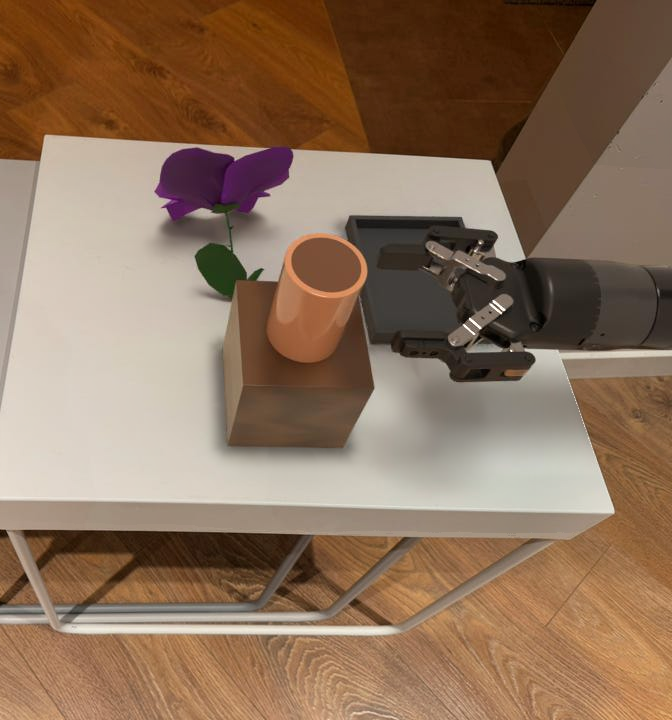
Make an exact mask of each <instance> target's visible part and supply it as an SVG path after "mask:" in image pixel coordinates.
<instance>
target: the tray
mask: <svg viewBox="0 0 672 720" xmlns="http://www.w3.org/2000/svg"><path fill="white" fill-rule="evenodd" d="M433 225H436V226H448V227H459V228H466V225H465V222H464V219H463V217H462V216H435V215H434V216H433V215H432V216H430V215H429V216H427V215H425V216H424V215H367V214H366V215H365V214H364V215H357V214H349V215H348V219H347V221H346V224H345V226H344V227H345V232H346V237H347V241H348V242H350V243H351V244H352V245H354V246H355V247H356V248H357V249H358V250H359V251H360V252H361V254H362V255H363V257H364V259H365V261H366V265H367V278H366V281H365V283H364V285H363V288H362V290H361V293H360V295H359V298H360V303H361V307H362V310H363V315H364V316H363V317H364V320H365V324H366V329H367V334H368V339H369V343H370V345H373V344H374V345H384V344H385V345H391V341H392V339H393V337H394V335H395V333H396V332H397V331H399V330H422V331H444V334H445V336H449V335H450V334H451V333H452V332H454V331H455V330H457V329H458V328H459V327H461V326H462V324H461V323H458V321H457V317H456V312H457V308H456V306H455V304H454V303H453V301H452V297H451V291H450V290H448V289H446V288H444V287H443V286H441V285H440V284H439V283H438V280H437V278H435V277H434V276H432V275H430V274H428V273H426V272H425V271H423V270H421V269H418V271H408V270H383V269H378V268H377V267H376V261H375V259H376V257H377V255H378V252H379V250H380V249H381V248H382V247H384V246H386V245H387V244H391V243H396V244H422V243H423V241H424V239H425V236H426V234H427V232H428V230H429V228H430V227H431V226H433ZM440 242H449V241H447V240H440ZM434 261H436V262H437V263H439V264H441V265H443V266H445V267H446V265H445V263H443V262H441V261H439V260H438V259H436V258H435V259H434ZM465 271H466V270H464V269H462V268H456V270H455V272H454V275H455V276H456V277H457V278H459V276H460V275H461V274H462V273H464V272H465ZM479 344H480V345H481V344H482V345H483V344H487V345H488V344H490V345H491V344H492V343H491V342H489V341H487V340H485V339H483V340H481V341H480V342H479V343H477V344H476V345H479Z"/></svg>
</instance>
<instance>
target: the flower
mask: <svg viewBox="0 0 672 720" xmlns="http://www.w3.org/2000/svg"><path fill="white" fill-rule="evenodd" d="M293 161H294V151H293V150H292V148H291V147H287V146H285V145H284V146H283V145H282V146H274V147H273V146H272V147H270V148H265V149H262V150H259V151H256V152H253V153H249V154H246V155H244V156H242V157H240V158H238V159H236V160H235V157H234V156H232V155H231V154H228V153H222V152H215V151H214V152H213V151H211V150H207V149H204V148H200V147H198V146H197V147H188V148H181V149H179V150H177V151H174V152H172V153H171V154H170V155H169V156H168V157H166V158H165V161H164V162H163V163H162V165H161V170H160V173H159V182H158V183H157V185H156V187H155V189H154V191H153V193H154V194H156V196H157V197H158V198H159V199H164V200H169V201H168V202H166V203H165V204H164V205H163V206H161V207H160V209H166V211H167V213H168V216H169V217H170V219H171V220H172V222H173V223H175V222H176V221H178V220H181V219H182V218H183V217H185V216H186V215H188V214H190V213H193V212H195V211H197V210H199V209H205V210H209V211H210V213H212V214H216V215H221V214H224V216H225V219H226V226H227V229H228V236H229V237H228V238H229V244H226V245H225V244H221V243H214V242H208V243H207V244H206V245H204V246H203V247H201V248H199V249H198V250H197V252H196V253H195V254H194V259H195V264H196V268H197V269H198V271H199V273H200V274H201V276H202V277H203V279H204V280H205V282H206V283H207V285H208V286H209V287H211V288H212V289H213V290H215V291H216V292H217V293H219V294H220V295H221V296H226V297H233V294H234V289H235V284H236V280H247V281H258V279H259V277H260V276H261V274H262V273H263V272H264V271H265V268H263V267H260V268H258V269H256V270H254V271H253V272H252V273H251V274H250V275H249V276H248V274H247V271H246V269H245V268H244V266H243V264H242V262H241V261H240V260H239V258H238V256H237V255H236V254H235V252H234V247H233V246H234V245H233V236H232V229H233V228H235V225H231V224H230V219H229V215H228V213H232V212H233V211H235V212H237V213H242V214H249V213H250V212H251V211H253V209H254V208H255V206H256V204H257V202H258V200H259V199H260V198H267V197H271V193H269V192H266V191H269V190H271V189H274V188H276V187H278V186H282V185H283V184H285V182H286V181H287V180H289V179H290V169H291V166H292V164H293Z"/></svg>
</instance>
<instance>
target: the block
mask: <svg viewBox="0 0 672 720" xmlns="http://www.w3.org/2000/svg"><path fill="white" fill-rule="evenodd" d="M277 283H278V280H276V281H275V280H274V281H273V280H256V281H247V280H236V284H235V289H234V294H233V296H232V299H231V304H230V310H229V314H228V320H227V324H226V329H225V334H224V340H223V343H222V344H223V345H222V362H223V363H222V364H223V382H224V384H223V385H224V401H225V402H224V403H225V423H226V424H225V425H226V426H225V427H226V445H227V447H229V446H230V447H273V448H274V447H278V448H279V447H281V448H285V447H286V448H333V449H334V448H341V449H343V448H344V446H345V444H346V442H347V440H348V439H349V437H350V436H351V433H352V431H353V430H354V428H355V427H356V424H357V423H358V420H359V418H360V417H361V415H362V413H363V411H364V409H365V408H366V405H367V403H368V402H369V400H370V398H371V397H372V394H373V393H374V391H375V389H376V388H375V383H374V381H375V380H374V376H373V370H372V364H371V360H370V359H371V358H370V354H369V353H370V351H369V348H368V341H367V336H366V330H365V324H364V319H363V312H362V305H361V299H360V296H359V297H358V300H357V302H356V304H355V307H354V309H353V311H352V314H351V316H350V319H349V321H348V323H347V326H346V328H345V330H344V333H343V335H342V337H341V340H340V342H339V345H338V347H337V349H336V350H335V352H334V353H333V354H332V355H330V356H329V357H328V358H326V359H324V360H321V361H318V362H313V363H302V362H297V361H293V360H291V359H288V358H286V357H285V356H283V355H282V354H280V353H279V352H278V351H277V350H276V349H275V348H274V347H273V346H272V344H271V343H270V341H269V339H268V336H267V332H266V325H267V320H268V316H269V313H270V309H271V305H272V302H273V298H274V294H275V291H276V287H277Z"/></svg>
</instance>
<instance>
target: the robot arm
mask: <svg viewBox="0 0 672 720" xmlns="http://www.w3.org/2000/svg"><path fill="white" fill-rule="evenodd" d="M498 239H499V235H498V233H497V232H496V231H494V230H492V229H481V228H471V227H470V228H469V227H465V228H459V227H448V226H436V225H433V226H431V227H430V228H429V230H428V232H427V234H426V236H425V239H424V241H423V243H422V244H396V243H391V244H387V245H386V246H384V247H382V248H381V249H380V250H379V252H378V255H377V257H376V259H375V261H376V267H377V268H378V269H383V270H408V271H418V269H421V270H423V271H425V272H426V273H428V274H430V275H432V276H434V277H435V278H437V280H438V283H439V284H440V285H441V286H443V287H444V288H446V289H448V290H450V291H451V297H452V301H453V303H454V304H455V306H456V308H457V312H456V317H457V321H458V323H461V324H462V326H461V327H459V328H458V329H457V330H455V331H454V332H452V333H451V334H450V335H449V336H445V334H444V331H422V330H399V331H397V332H396V333H395V335H394V337H393V339H392V341H391V344H390V348H391V352H392V353H394V354H399V356H401V357H403V358H406V359H432V360H434V359H437V360H439V361H440V362H441V363H444V364H445V365H446V367H447V368H448V370H449V373H448V376H449V378H450V380H452V381H453V382H454V383H494V382H518V381H521V380H522V379H523V377H524V376H525V375H526V374H527V373H528V372H529V371H530V369H531V368H532V367H533V366H534V365H535V363H536V361H537V360H536V359H537V358H536V356H535V355H534V354H533V353H532V352H530V351H526V350H551V351H552V350H553V351H584V352H585V351H587V352H606V351H607V352H609V351H616V350H617V351H618V350H649V351H651V350H652V351H672V266H671V265H654V264H653V265H651V264H632V263H631V264H630V263H625V262H620V261H614V260H607V259H606V260H605V259H604V260H603V259H583V258H582V259H581V258H580V259H579V258H561V257H560V258H557V257H556V258H555V257H527V258H524V259H521V260H518V261H517V260H516V261H513V262H512V261H506V260H504V259H501V258H500V257H497V256H496V255H497V254H496V250H495V244H496V242H497V241H498ZM440 240H447V241H449V242H440ZM435 258H436V259H438V260H439V261H441V262H443V263H445V265H446V267H445V266H443V265H441V264H439V263H437V262H436V261H434V259H435ZM456 268H462V269H464V270H466V271H465V272H464V273H462V274H461V275H460V276H459V278H457V277H456V276H455V275H454V272H455V270H456ZM483 339H485V340H487V341H489V342H491V344H492V345H494V346H496V347H498V348H500V349H502V350H501V351H486V352H485V351H484V352H483V351H482V352H481V351H480V352H477V351H476V352H468V351H469V350H471V349H472V348H474V347H475V346H476V345H478V344H477V343H479V342H480V341H481V340H483Z"/></svg>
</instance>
